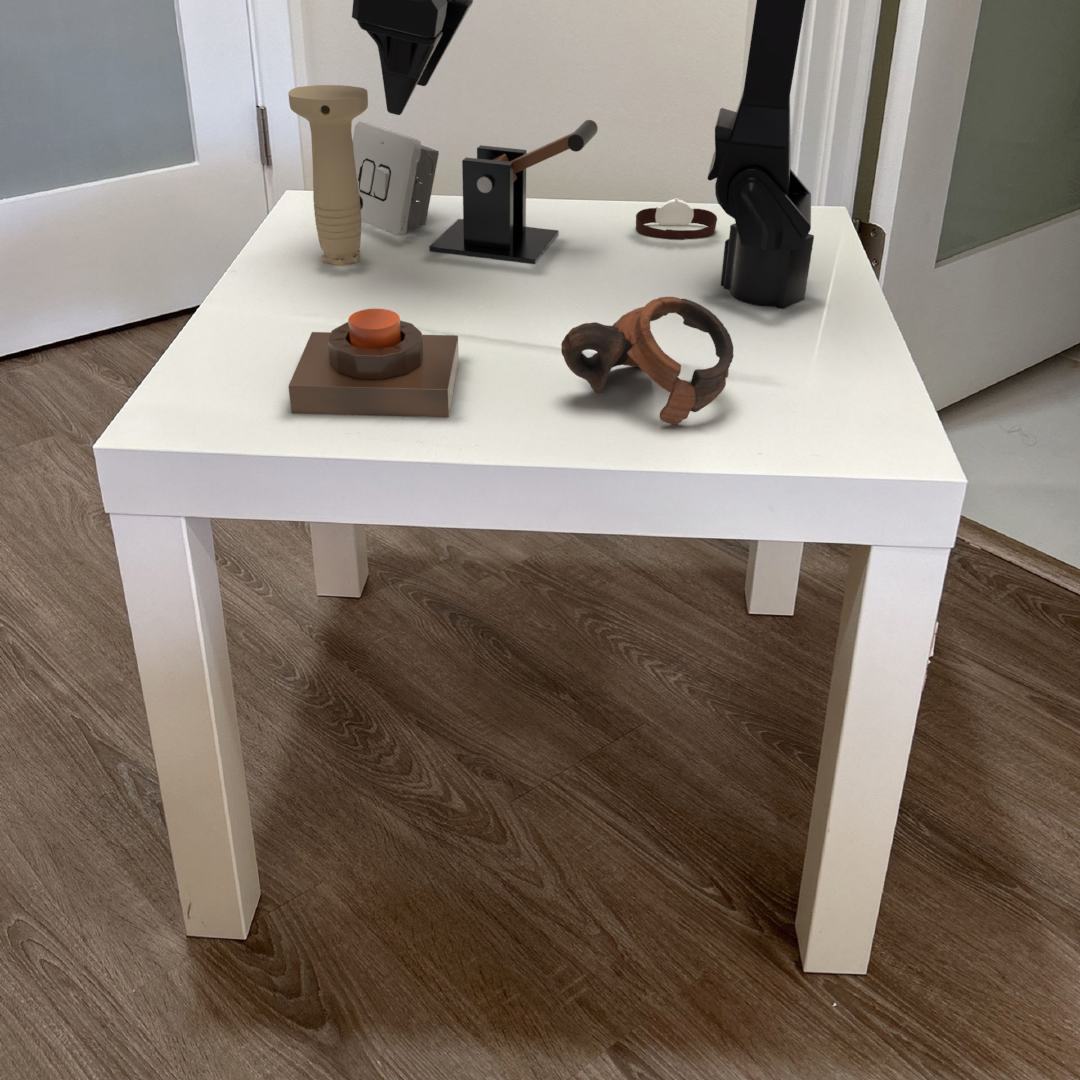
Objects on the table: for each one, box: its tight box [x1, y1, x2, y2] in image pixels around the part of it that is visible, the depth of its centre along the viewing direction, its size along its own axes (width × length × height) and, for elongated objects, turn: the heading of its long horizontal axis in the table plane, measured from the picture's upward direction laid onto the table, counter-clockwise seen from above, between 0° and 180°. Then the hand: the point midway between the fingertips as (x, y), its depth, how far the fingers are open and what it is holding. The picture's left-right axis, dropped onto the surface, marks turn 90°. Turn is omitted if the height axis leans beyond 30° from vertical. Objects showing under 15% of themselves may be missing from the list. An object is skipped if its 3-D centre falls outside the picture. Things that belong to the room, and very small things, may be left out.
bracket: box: [428, 144, 560, 265], centre depth 107 cm, size 10×8×9 cm
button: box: [347, 308, 401, 349], centre depth 84 cm, size 4×4×2 cm
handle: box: [287, 84, 369, 267], centre depth 101 cm, size 5×6×15 cm
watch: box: [635, 197, 718, 240], centre depth 112 cm, size 8×5×4 cm, turn 91°
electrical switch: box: [352, 120, 440, 237], centre depth 112 cm, size 9×5×9 cm, turn 43°
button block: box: [288, 319, 460, 418], centre depth 85 cm, size 11×9×4 cm
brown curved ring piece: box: [560, 296, 735, 426], centre depth 84 cm, size 12×10×8 cm
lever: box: [493, 119, 598, 182], centre depth 104 cm, size 11×5×2 cm, turn 75°
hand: (407, 98), depth 97 cm, fingers open, 9 cm apart
